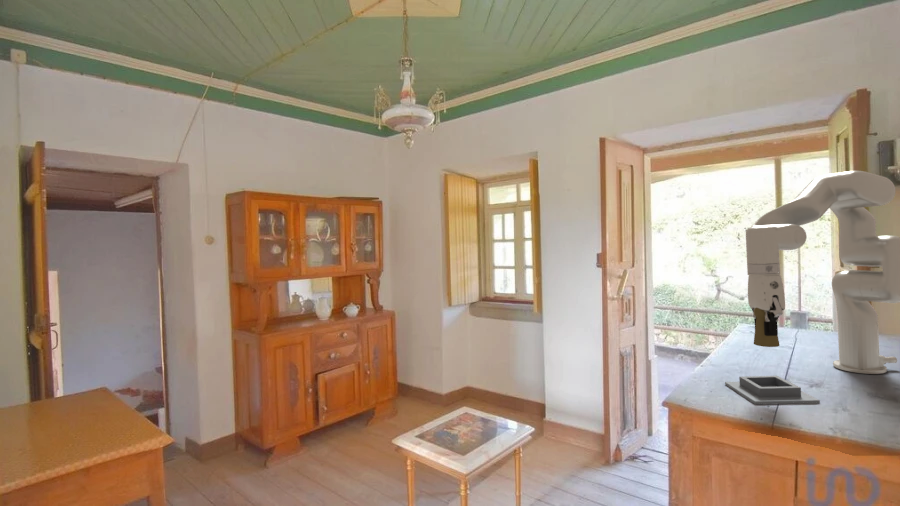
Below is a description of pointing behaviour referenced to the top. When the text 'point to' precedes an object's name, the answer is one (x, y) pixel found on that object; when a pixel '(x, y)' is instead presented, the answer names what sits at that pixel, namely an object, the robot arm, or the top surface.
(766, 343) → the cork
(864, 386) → the top surface
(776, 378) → the bay base
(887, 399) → the top surface
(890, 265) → the robot arm
